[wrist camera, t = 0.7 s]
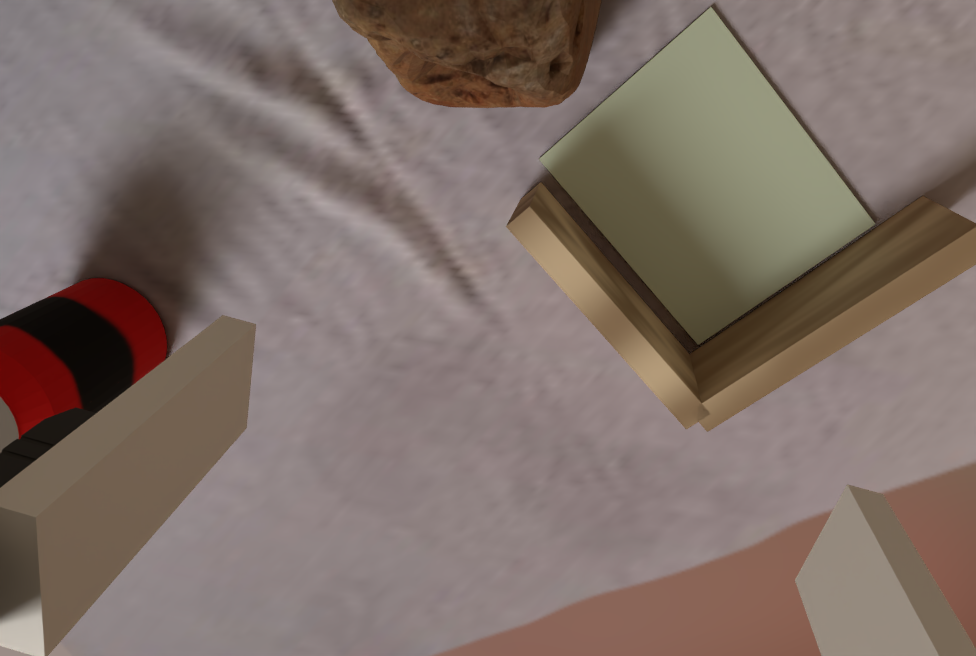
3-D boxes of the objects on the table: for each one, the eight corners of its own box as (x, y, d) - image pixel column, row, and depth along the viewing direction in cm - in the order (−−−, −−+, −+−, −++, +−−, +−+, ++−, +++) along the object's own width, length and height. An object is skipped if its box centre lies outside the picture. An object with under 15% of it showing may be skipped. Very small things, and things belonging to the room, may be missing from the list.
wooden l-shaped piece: (520, 199, 39) (505, 226, 34) (767, -16, 33) (798, -25, 28) (684, 386, 42) (695, 439, 36) (939, 217, 36) (997, 250, 31)
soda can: (117, 255, 45) (-42, 327, 34) (193, 351, 47) (65, 449, 36) (42, 309, 47) (-129, 392, 36) (117, 398, 49) (-25, 503, 38)
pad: (539, 158, 38) (538, 159, 38) (710, 6, 34) (711, 6, 34) (697, 343, 41) (698, 345, 41) (874, 223, 37) (875, 224, 37)
